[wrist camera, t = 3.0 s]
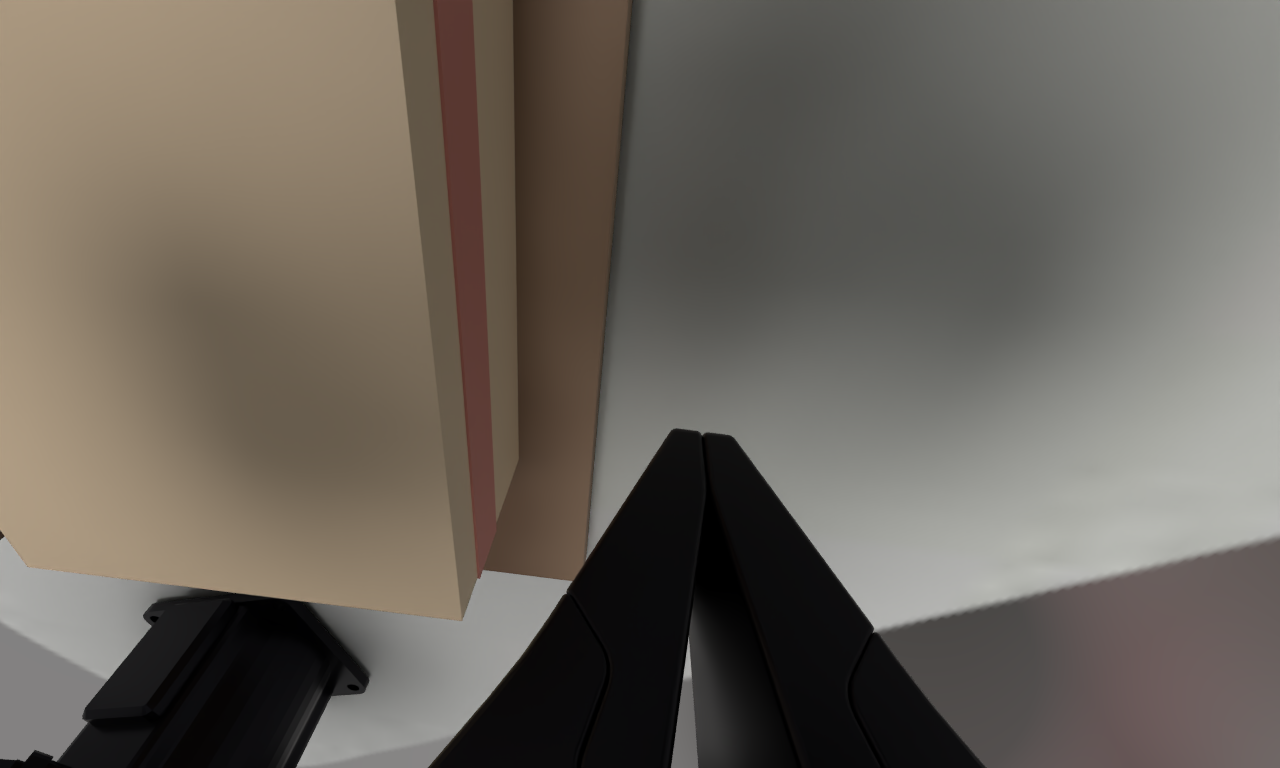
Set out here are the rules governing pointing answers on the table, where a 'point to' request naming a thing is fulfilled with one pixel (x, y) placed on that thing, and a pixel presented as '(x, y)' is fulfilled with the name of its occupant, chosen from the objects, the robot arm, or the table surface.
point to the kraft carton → (259, 294)
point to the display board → (561, 270)
